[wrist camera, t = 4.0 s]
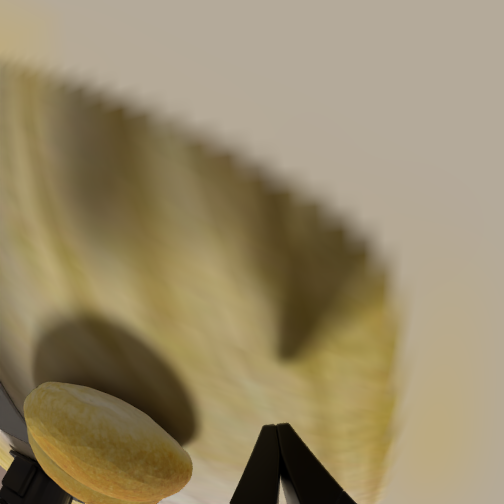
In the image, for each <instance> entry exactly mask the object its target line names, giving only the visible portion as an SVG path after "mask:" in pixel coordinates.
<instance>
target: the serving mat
mask: <svg viewBox="0 0 504 504" xmlns="http://www.w3.org/2000/svg"><path fill="white" fill-rule="evenodd" d="M0 429H1V430H3V431H5V432H6V433H8V434H10V435H12V436H14V437H16V438H18V439H20V440H22V441H24V442H26V443H29V439H28V433H27V424H26V422H25V421H24V419H23V418H22V416H21V415H20V414H19V412H18V411H17V409H16V408H15V406H14V404H13V403H12V401H11V400H10V398H9V396H8V395H7V393H6V391H5V390H4V388H3V386H2V385H1V383H0ZM29 444H30V443H29Z"/></svg>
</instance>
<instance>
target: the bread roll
mask: <svg viewBox="0 0 504 504" xmlns="http://www.w3.org/2000/svg"><path fill="white" fill-rule="evenodd" d="M23 410H24V417H25V420H26V424H27V433H28V439H29V443H30V445H31V448H32V450H33V452H34V455H35V457H36V459H37V461H38V463H39V464H40V466H41V467H42V468H43V470H44V471H45V473H46V474H47V475H48V476H49V477H50V478H51V479H53V480H54V481H55V482H56V483H57V484H58V485H59V486H60V487H61V488H62V489H64V490H65V491H66V492H67V493H69V494H70V495H72V496H74V497H75V498H77V499H79V500H81V501H83V502H84V503H86V504H157V503H158V502H159V501H161V500H162V499H163V498H166V497H168V496H171V495H173V494H175V493H177V492H179V491H180V490H181V489H182V488H183V487H184V486H185V485H186V484H187V483H188V482H189V480H190V478H191V476H192V469H193V466H192V461H191V458H190V456H189V454H188V453H187V452H186V451H185V450H184V449H183V448H182V447H181V446H180V445H179V443H178V442H177V441H176V440H175V439H174V438H172V437H171V436H170V435H169V434H168V433H167V432H166V431H165V430H164V429H163V428H161V427H160V426H159V425H158V424H157V423H156V422H154V421H153V420H152V419H151V418H150V417H149V416H148V415H147V414H145V413H144V412H142V411H140V410H139V409H137V408H135V407H133V406H132V405H130V404H128V403H126V402H125V401H123V400H121V399H119V398H116V397H114V396H112V395H109V394H107V393H104V392H101V391H98V390H95V389H93V388H90V387H86V386H81V385H75V384H68V383H59V382H45V383H43V384H41V385H40V386H38V387H37V388H36V389H33V390H32V392H31V393H30V394H29V395H28V396H27V397H26V399H25V401H24V405H23Z"/></svg>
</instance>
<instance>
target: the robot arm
mask: <svg viewBox="0 0 504 504" xmlns="http://www.w3.org/2000/svg"><path fill="white" fill-rule="evenodd" d="M9 453H10V454H11V455H12V456H13V457H14V460H13V462H12V464H11V466H10V467H9V469H8V471H7V473H6V475H5V476H4V478H3V480H2V485H3V486H2V488H1V490H0V504H71V503H72V500H75V501H78V502H81V503H83V504H85V503H84V502H83V501H81V500H79V499H77V498H75V497H74V496H72V495H70V494H69V493H67V492H66V491H65V490H64V489H62V488H61V487H60V486H59V485H58V484H57V483H56V482H55V481H54V480H53V479H51V478H50V477H49V476H48V475H47V474H46V473H45V471H44V470H43V468H42V467H41V466H40V464H39V463H37V462H34V461H32V460H30V459H28V458H26V457H24V456H22V455H21V454H19V453H17V452H15V451H13V450H10V452H9ZM280 478H281V483H282V487H283V491H284V494H285V498H286V502H287V504H357V503H356V502H355V501H354V500H353V499H352V498H351V497H350V496H349V495H348V494H347V493H346V492H345V491H343V488H342V487H341V486H340V485H339V484H338V483H337V482H336V480H335V479H334V478H333V477H332V476H331V475H330V474H329V472H328V471H327V470H326V469H325V468H324V466H323V465H322V464H321V463H320V462H319V460H318V459H317V458H316V457H315V456H314V454H313V453H312V452H311V451H310V449H309V448H308V447H307V446H306V444H305V443H304V442H303V441H302V439H301V438H300V437H299V436H298V434H297V433H296V432H295V430H294V429H293V428H292V427H291V425H290V424H289V423H280V424H277V425H274V424H270V425H264V426H263V427H262V429H261V432H260V434H259V437H258V439H257V442H256V444H255V446H254V449H253V451H252V454H251V456H250V458H249V461H248V463H247V465H246V468H245V470H244V472H243V475H242V477H241V479H240V481H239V484H238V486H237V488H236V490H235V492H234V495H233V497H232V499H231V501H230V504H279V492H280Z"/></svg>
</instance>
